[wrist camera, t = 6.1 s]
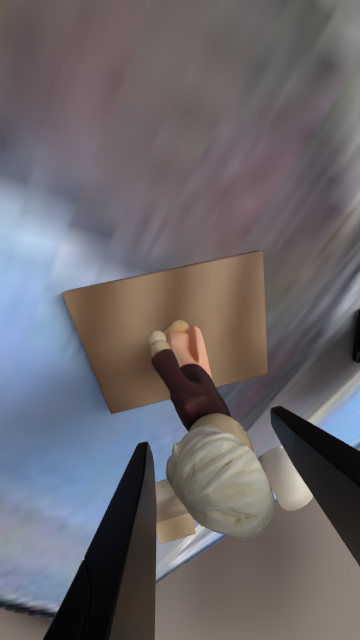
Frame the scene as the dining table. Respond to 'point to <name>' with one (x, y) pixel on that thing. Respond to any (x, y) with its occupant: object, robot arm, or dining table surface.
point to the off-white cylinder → (285, 480)
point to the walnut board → (160, 312)
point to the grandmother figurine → (209, 442)
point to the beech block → (171, 514)
